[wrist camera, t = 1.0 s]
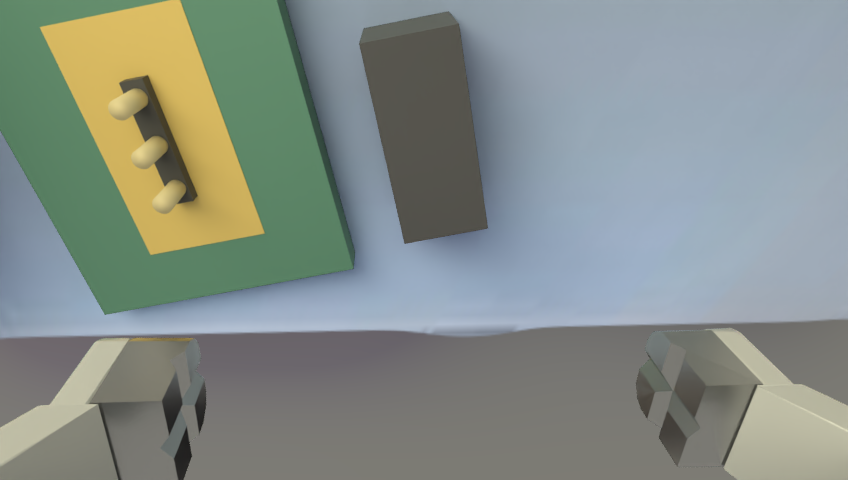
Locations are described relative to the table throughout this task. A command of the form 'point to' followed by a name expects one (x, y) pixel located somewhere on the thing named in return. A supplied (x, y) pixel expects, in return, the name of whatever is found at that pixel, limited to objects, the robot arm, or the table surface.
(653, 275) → the table surface
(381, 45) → the block
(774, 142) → the table surface
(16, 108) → the board
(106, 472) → the robot arm
